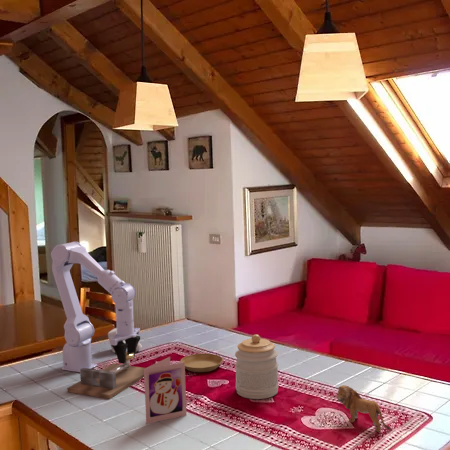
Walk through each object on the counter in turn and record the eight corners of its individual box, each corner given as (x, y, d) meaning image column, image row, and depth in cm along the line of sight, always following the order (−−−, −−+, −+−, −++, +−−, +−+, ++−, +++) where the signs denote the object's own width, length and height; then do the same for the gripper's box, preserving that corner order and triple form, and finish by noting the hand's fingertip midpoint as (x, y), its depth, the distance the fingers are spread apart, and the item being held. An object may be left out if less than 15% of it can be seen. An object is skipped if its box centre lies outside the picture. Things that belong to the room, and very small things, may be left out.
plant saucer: (198, 378, 183) (198, 370, 183) (172, 367, 194) (171, 360, 194) (232, 367, 193) (231, 359, 193) (204, 357, 204) (204, 350, 204)
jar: (283, 385, 174) (281, 330, 173) (272, 402, 162) (271, 342, 160) (243, 381, 178) (241, 327, 177) (230, 397, 166) (228, 339, 165)
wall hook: (139, 353, 208) (132, 327, 208) (114, 358, 211) (107, 333, 210) (146, 346, 216) (139, 321, 216) (122, 352, 219) (115, 327, 218)
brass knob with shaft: (101, 376, 181) (101, 362, 181) (125, 364, 193) (124, 350, 192) (114, 378, 179) (114, 364, 178) (137, 365, 191) (136, 352, 190)
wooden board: (67, 391, 174) (66, 372, 174) (113, 366, 196) (112, 350, 195) (109, 399, 168) (108, 379, 167) (152, 372, 189) (152, 355, 189)
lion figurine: (333, 419, 149) (333, 387, 149) (342, 413, 153) (342, 381, 153) (386, 434, 140) (386, 399, 139) (394, 427, 144) (394, 393, 143)
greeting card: (147, 424, 149) (144, 369, 148) (139, 414, 156) (137, 361, 155) (187, 416, 154) (185, 363, 153) (178, 406, 161) (176, 355, 159)
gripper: (122, 327, 180) (124, 368, 181) (146, 316, 193) (148, 355, 194) (104, 325, 183) (106, 365, 184) (129, 314, 196) (131, 352, 197)
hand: (126, 360), depth 189 cm, fingers closed on brass knob with shaft, 5 cm apart
